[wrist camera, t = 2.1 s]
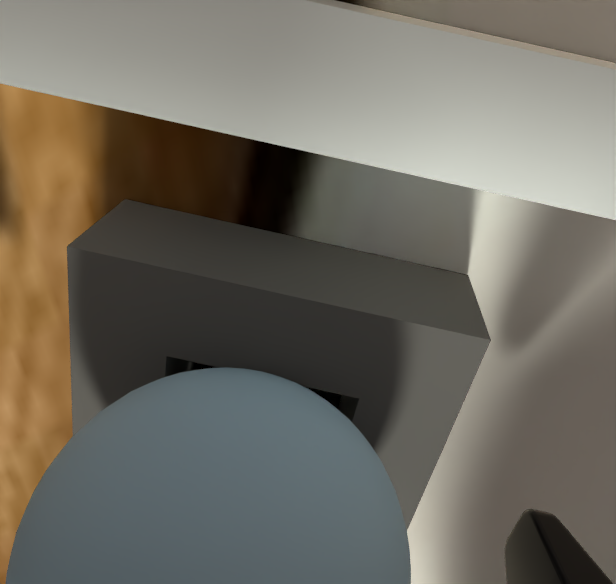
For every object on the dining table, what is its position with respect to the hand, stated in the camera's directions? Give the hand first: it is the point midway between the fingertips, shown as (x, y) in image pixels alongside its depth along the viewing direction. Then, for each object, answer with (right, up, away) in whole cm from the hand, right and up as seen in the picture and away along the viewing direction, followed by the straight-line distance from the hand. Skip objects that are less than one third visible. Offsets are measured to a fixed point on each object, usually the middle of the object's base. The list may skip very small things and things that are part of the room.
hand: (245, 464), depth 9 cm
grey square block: (0, +1, +2) cm, 2 cm away
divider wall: (-4, +7, -1) cm, 8 cm away
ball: (0, -1, -1) cm, 2 cm away
